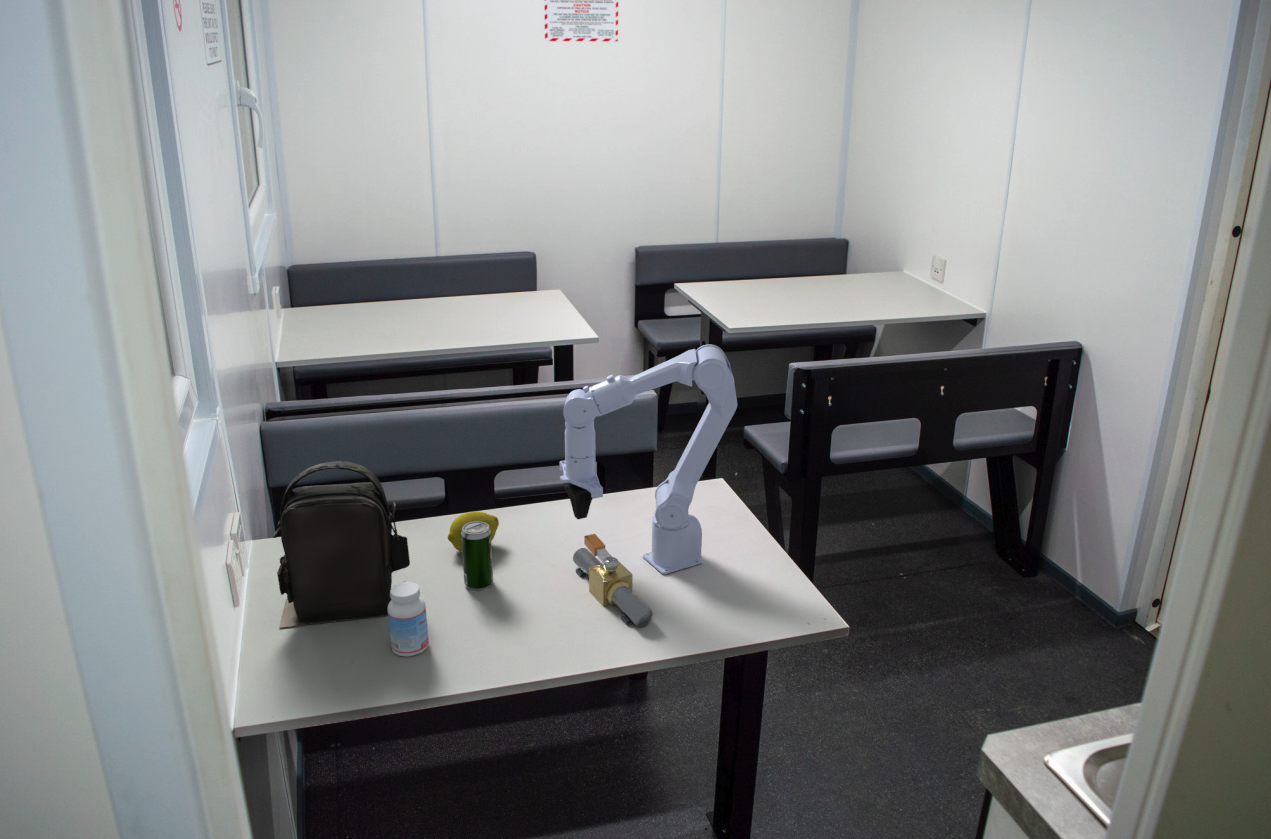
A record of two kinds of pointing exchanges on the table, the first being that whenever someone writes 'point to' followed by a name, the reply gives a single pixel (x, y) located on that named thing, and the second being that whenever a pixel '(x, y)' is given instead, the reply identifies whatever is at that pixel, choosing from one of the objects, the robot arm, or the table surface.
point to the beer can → (477, 556)
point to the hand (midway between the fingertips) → (580, 517)
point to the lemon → (467, 518)
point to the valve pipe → (612, 587)
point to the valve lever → (601, 552)
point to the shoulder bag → (337, 549)
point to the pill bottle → (407, 620)
